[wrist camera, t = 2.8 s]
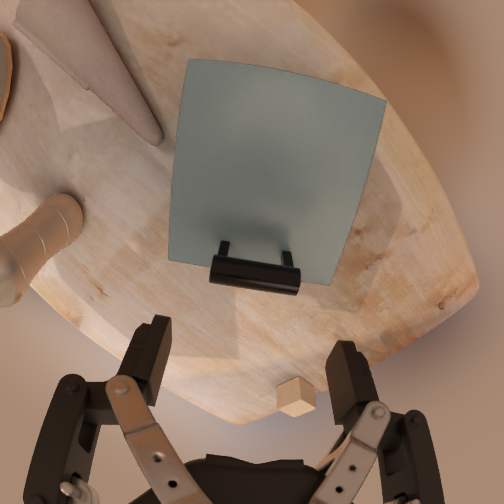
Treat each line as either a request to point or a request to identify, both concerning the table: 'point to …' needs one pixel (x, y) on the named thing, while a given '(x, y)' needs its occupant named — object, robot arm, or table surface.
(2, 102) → the desk lamp
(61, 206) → the plastic bottle
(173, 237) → the lid
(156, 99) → the table surface
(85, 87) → the beige long cone
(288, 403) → the tan cube
